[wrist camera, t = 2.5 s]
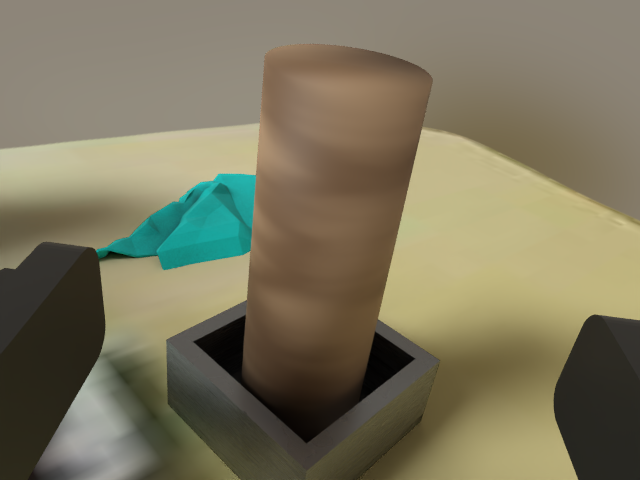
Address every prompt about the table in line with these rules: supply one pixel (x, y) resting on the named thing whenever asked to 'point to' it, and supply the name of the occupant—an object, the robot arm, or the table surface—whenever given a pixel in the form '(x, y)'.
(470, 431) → the table surface
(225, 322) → the holder cup
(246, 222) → the cloth
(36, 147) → the table surface
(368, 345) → the canister
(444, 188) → the table surface
